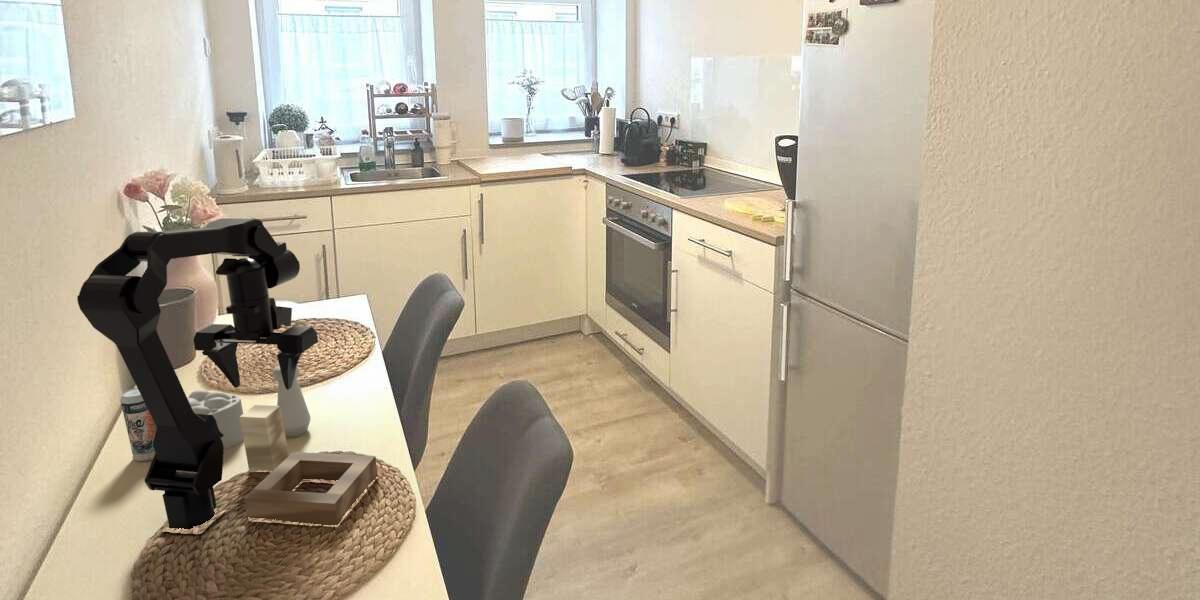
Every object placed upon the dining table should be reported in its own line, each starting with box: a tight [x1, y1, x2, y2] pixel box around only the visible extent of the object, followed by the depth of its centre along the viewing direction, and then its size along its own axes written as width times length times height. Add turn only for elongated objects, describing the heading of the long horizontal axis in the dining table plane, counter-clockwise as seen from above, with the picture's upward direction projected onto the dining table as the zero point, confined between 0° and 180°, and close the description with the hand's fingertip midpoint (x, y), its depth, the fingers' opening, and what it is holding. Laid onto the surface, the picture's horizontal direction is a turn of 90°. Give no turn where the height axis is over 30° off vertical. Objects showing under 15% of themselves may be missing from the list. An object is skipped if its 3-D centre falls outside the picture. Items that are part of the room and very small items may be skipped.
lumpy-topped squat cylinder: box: [187, 389, 244, 451], centre depth 141 cm, size 10×13×9 cm
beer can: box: [119, 387, 156, 462], centre depth 136 cm, size 5×5×12 cm
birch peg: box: [240, 404, 289, 471], centre depth 132 cm, size 4×4×10 cm
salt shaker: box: [272, 364, 311, 438], centre depth 143 cm, size 6×6×13 cm
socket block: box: [243, 451, 379, 525], centre depth 122 cm, size 14×14×4 cm
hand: (263, 387), depth 132 cm, fingers open, 9 cm apart
